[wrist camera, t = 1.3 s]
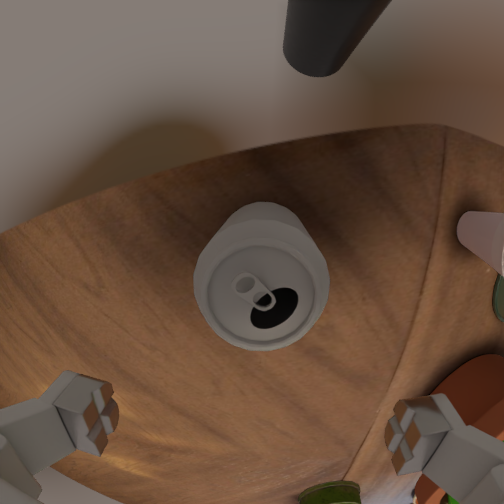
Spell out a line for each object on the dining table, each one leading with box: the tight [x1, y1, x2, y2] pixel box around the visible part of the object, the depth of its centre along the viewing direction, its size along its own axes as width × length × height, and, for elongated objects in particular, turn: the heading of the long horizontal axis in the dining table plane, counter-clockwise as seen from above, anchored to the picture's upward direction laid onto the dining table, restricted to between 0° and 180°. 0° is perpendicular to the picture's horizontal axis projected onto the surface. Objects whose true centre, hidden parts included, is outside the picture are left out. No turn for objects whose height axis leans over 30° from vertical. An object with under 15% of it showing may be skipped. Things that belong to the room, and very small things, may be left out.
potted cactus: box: [415, 354, 504, 504], centre depth 19 cm, size 22×22×25 cm
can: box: [193, 202, 330, 351], centre depth 20 cm, size 8×8×12 cm
